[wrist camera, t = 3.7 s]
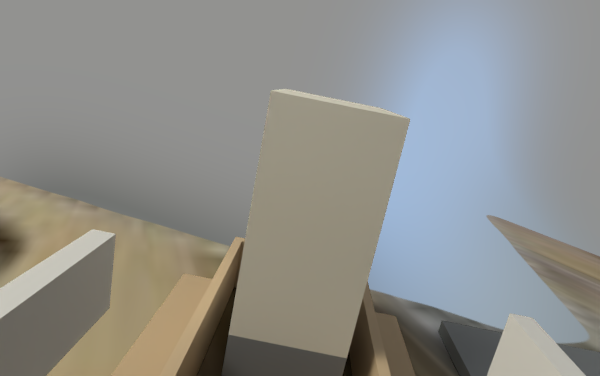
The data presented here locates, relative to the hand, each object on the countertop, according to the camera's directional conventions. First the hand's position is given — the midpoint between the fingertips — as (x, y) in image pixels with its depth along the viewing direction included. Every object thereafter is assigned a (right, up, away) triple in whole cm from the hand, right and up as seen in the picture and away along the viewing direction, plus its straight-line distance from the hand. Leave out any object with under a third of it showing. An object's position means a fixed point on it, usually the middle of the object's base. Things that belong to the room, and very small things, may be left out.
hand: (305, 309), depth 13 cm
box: (-1, -7, +12) cm, 14 cm away
